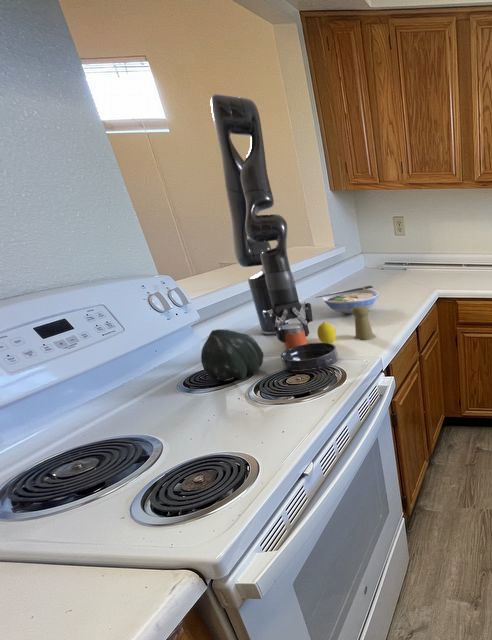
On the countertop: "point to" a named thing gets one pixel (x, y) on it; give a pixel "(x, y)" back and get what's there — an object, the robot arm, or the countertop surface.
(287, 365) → the pan
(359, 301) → the ramen bowl
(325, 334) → the lemon
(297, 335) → the can
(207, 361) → the squash
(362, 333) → the olive flared column
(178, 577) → the countertop surface
